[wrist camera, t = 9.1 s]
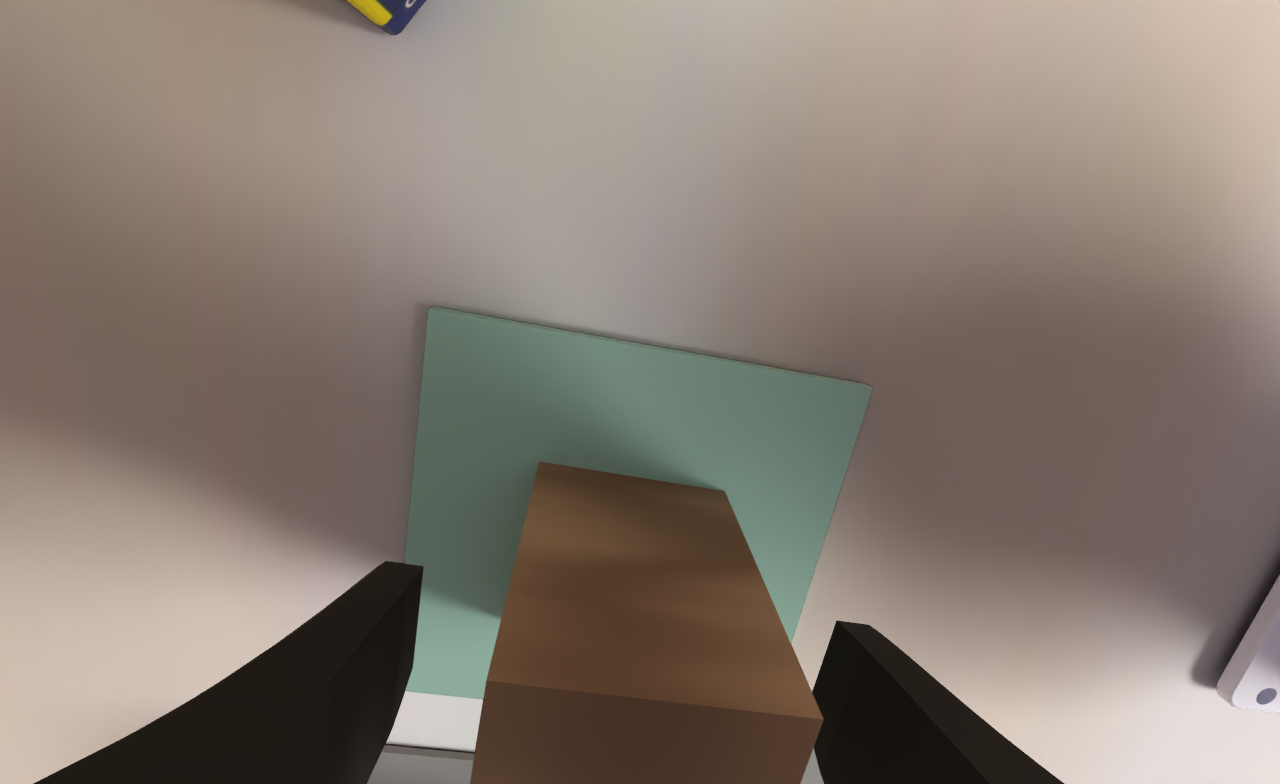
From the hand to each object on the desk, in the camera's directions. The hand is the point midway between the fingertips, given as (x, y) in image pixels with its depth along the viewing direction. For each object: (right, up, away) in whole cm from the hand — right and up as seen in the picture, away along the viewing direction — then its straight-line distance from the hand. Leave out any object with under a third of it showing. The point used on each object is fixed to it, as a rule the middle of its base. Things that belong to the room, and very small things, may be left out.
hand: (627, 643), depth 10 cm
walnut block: (0, +1, +3) cm, 3 cm away
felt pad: (0, +1, +3) cm, 3 cm away
